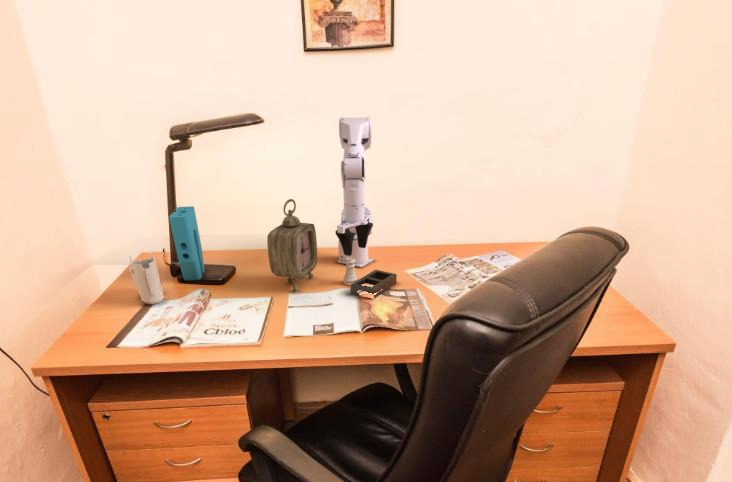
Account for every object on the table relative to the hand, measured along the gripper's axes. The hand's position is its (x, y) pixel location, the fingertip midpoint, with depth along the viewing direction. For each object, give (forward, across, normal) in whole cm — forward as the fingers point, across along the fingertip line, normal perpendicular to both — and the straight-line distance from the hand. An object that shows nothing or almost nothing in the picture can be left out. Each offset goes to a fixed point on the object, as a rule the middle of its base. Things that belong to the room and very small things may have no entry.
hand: (355, 251), depth 141 cm
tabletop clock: (+10, -10, +15) cm, 21 cm away
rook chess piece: (+10, -1, +1) cm, 10 cm away
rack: (+10, -1, -7) cm, 12 cm away
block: (+10, -21, +47) cm, 53 cm away
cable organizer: (+10, -39, +44) cm, 60 cm away
